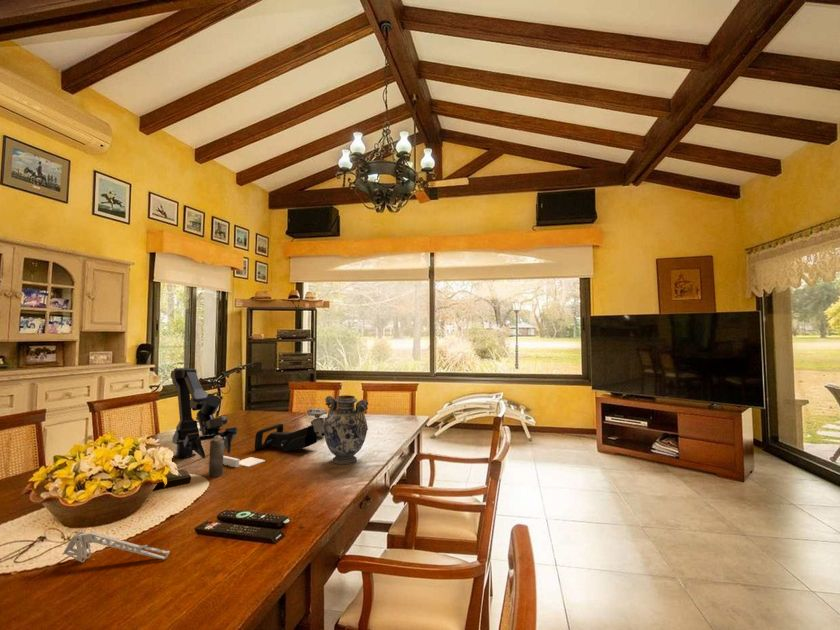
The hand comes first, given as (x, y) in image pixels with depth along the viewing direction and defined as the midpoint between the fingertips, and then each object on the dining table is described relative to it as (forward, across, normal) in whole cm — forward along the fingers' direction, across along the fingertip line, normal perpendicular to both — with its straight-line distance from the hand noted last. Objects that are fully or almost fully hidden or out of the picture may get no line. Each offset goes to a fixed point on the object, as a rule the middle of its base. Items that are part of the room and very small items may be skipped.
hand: (217, 455), depth 157 cm
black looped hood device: (-4, +38, +15) cm, 41 cm away
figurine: (-11, +60, +22) cm, 65 cm away
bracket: (+36, -40, -24) cm, 59 cm away
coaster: (+1, +16, +10) cm, 19 cm away
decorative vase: (+19, +46, -8) cm, 51 cm away
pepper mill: (+5, 0, +6) cm, 8 cm away
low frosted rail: (-3, +8, +13) cm, 16 cm away
